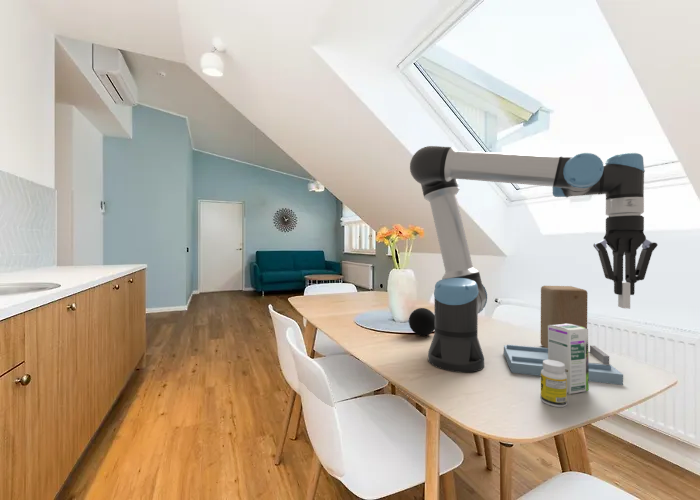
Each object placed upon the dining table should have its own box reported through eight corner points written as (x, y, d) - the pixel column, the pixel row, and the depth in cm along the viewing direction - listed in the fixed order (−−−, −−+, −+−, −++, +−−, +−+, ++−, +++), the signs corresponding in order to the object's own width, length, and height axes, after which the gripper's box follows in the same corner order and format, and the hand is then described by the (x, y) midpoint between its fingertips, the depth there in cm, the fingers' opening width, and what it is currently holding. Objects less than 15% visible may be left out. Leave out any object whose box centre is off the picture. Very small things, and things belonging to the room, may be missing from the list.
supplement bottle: (543, 394, 72) (543, 357, 72) (568, 401, 69) (568, 362, 69) (538, 402, 69) (538, 363, 69) (564, 410, 66) (565, 368, 66)
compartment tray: (511, 372, 85) (511, 359, 85) (503, 353, 100) (503, 342, 100) (623, 384, 77) (623, 370, 77) (596, 362, 93) (596, 349, 93)
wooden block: (588, 356, 97) (589, 290, 97) (551, 354, 99) (552, 289, 99) (572, 346, 107) (573, 285, 107) (539, 344, 109) (539, 285, 109)
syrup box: (569, 395, 72) (570, 329, 72) (547, 384, 78) (547, 323, 78) (589, 391, 74) (589, 328, 74) (565, 381, 80) (565, 322, 79)
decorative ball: (440, 338, 117) (440, 310, 116) (413, 339, 115) (414, 311, 115) (430, 331, 127) (430, 305, 126) (405, 332, 125) (405, 306, 125)
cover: (566, 364, 84) (566, 352, 84) (556, 353, 93) (556, 342, 93) (610, 368, 81) (610, 356, 81) (596, 356, 90) (596, 345, 90)
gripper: (599, 215, 82) (599, 308, 82) (664, 213, 78) (664, 311, 78) (588, 217, 89) (588, 303, 89) (647, 216, 85) (647, 306, 85)
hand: (624, 307), depth 84 cm, fingers closed
